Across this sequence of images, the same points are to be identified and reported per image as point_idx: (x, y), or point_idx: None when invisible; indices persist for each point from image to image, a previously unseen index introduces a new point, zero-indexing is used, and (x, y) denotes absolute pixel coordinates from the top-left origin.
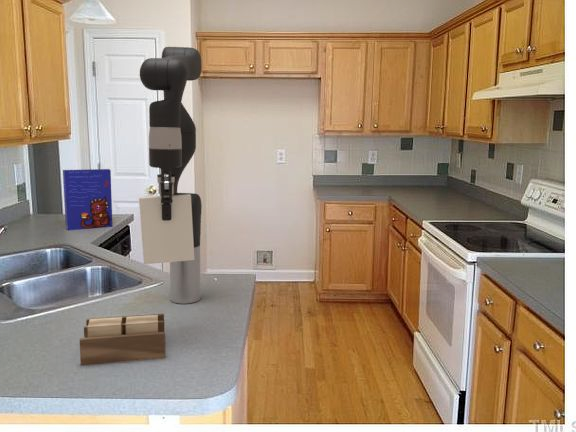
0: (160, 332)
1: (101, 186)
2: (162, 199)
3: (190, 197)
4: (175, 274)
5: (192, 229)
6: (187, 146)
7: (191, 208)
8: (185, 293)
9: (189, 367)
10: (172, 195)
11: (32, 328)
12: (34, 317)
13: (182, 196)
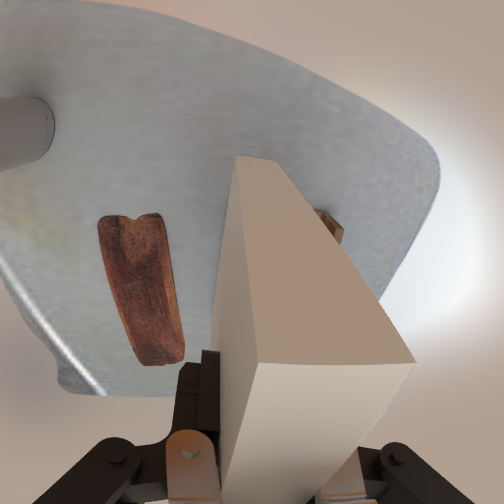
0: (335, 236)
1: None
2: (393, 493)
3: (399, 349)
4: (9, 162)
5: (304, 199)
6: None
7: (351, 265)
8: (42, 133)
9: (358, 179)
10: (243, 487)
11: (128, 373)
12: (88, 370)
13: (365, 432)
